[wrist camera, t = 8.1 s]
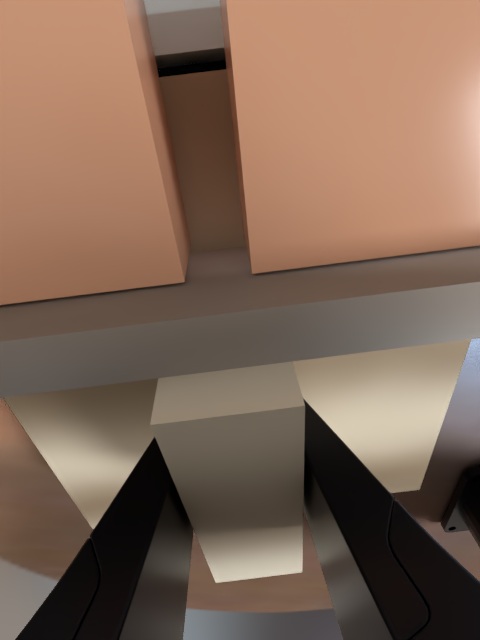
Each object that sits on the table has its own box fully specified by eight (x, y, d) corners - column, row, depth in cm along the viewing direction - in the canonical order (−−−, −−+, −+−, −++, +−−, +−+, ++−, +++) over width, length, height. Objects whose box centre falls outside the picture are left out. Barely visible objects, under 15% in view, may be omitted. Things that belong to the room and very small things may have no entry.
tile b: (190, 243, 8) (184, 282, 6) (-1, 267, 8) (-60, 312, 6) (138, -28, 5) (103, -89, 4) (-143, 7, 5) (-308, -37, 4)
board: (388, 431, 17) (419, 489, 14) (111, 464, 17) (92, 528, 14) (471, 50, 9) (578, 27, 6) (-70, 115, 9) (-189, 119, 6)
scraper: (412, 440, 12) (474, 550, 9) (83, 481, 12) (43, 604, 9) (488, 215, 7) (666, 301, 4) (-59, 284, 7) (-231, 413, 4)
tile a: (436, 213, 8) (498, 242, 6) (243, 237, 8) (251, 273, 6) (498, -74, 5) (630, -158, 4) (216, -38, 5) (216, -104, 4)
